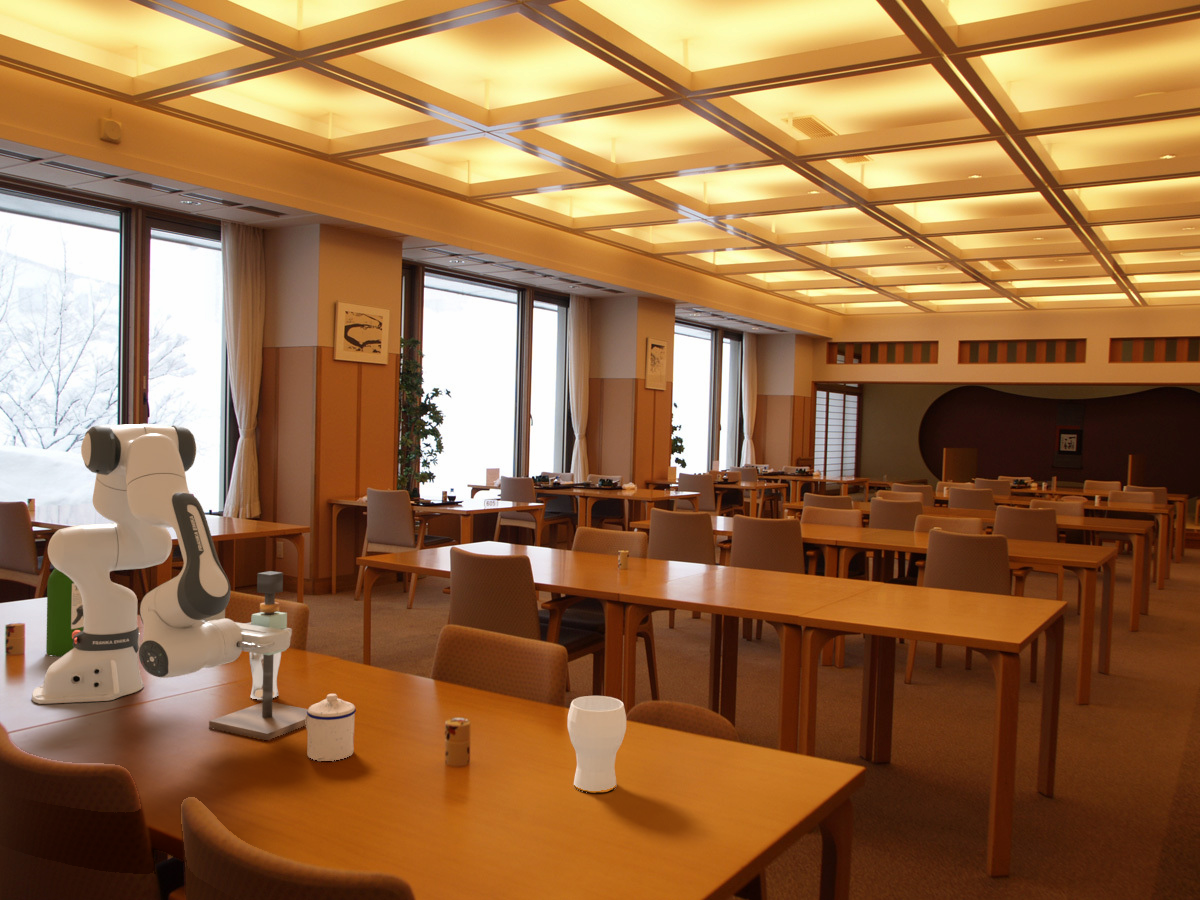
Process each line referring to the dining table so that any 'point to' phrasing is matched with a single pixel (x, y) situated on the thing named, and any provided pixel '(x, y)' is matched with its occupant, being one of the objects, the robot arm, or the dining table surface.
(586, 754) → the cup
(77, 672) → the robot arm
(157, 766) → the dining table surface
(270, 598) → the post stand
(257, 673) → the beer glass
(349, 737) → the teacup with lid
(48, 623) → the wine bottle
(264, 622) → the marker sleeve
